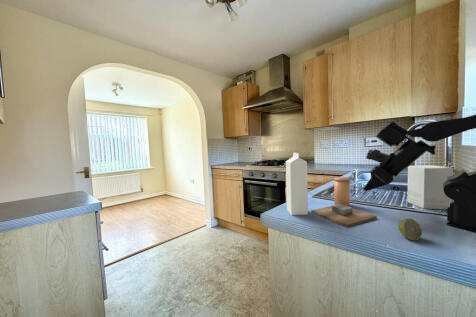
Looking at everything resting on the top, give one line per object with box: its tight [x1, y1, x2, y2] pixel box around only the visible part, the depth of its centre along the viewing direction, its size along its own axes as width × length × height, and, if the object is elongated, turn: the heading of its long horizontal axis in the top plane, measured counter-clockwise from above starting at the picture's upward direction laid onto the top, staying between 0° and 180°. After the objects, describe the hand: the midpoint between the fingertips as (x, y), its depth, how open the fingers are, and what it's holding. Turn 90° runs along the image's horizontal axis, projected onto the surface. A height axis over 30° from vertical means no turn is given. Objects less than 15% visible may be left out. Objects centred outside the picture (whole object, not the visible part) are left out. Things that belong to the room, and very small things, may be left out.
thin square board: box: [310, 204, 378, 228], centre depth 65 cm, size 14×14×3 cm
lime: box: [398, 218, 423, 241], centre depth 48 cm, size 4×5×5 cm
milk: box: [285, 152, 309, 216], centre depth 69 cm, size 6×6×22 cm
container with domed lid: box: [333, 176, 351, 207], centre depth 76 cm, size 6×6×11 cm
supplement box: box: [406, 164, 454, 210], centre depth 71 cm, size 9×9×15 cm
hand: (367, 187), depth 69 cm, fingers open, 9 cm apart
